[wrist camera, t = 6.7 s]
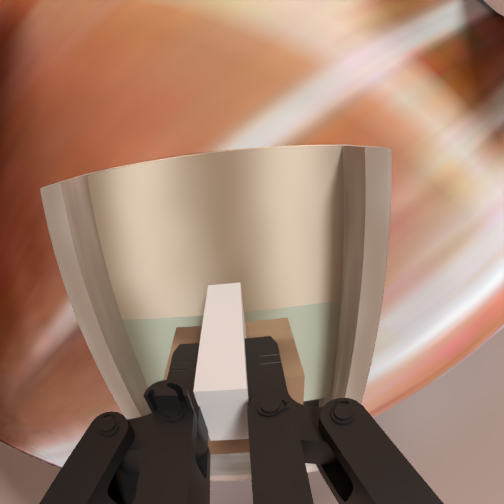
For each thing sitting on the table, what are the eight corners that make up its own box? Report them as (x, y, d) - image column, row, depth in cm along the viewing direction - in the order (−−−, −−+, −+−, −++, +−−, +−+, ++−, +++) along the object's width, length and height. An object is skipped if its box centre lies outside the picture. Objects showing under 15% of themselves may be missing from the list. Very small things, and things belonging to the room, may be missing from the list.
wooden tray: (173, 432, 23) (167, 479, 18) (93, 172, 15) (40, 188, 10) (327, 418, 24) (341, 465, 18) (343, 144, 15) (391, 148, 10)
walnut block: (197, 398, 17) (192, 454, 13) (176, 327, 15) (161, 386, 11) (288, 391, 18) (300, 446, 13) (287, 317, 15) (304, 375, 11)
